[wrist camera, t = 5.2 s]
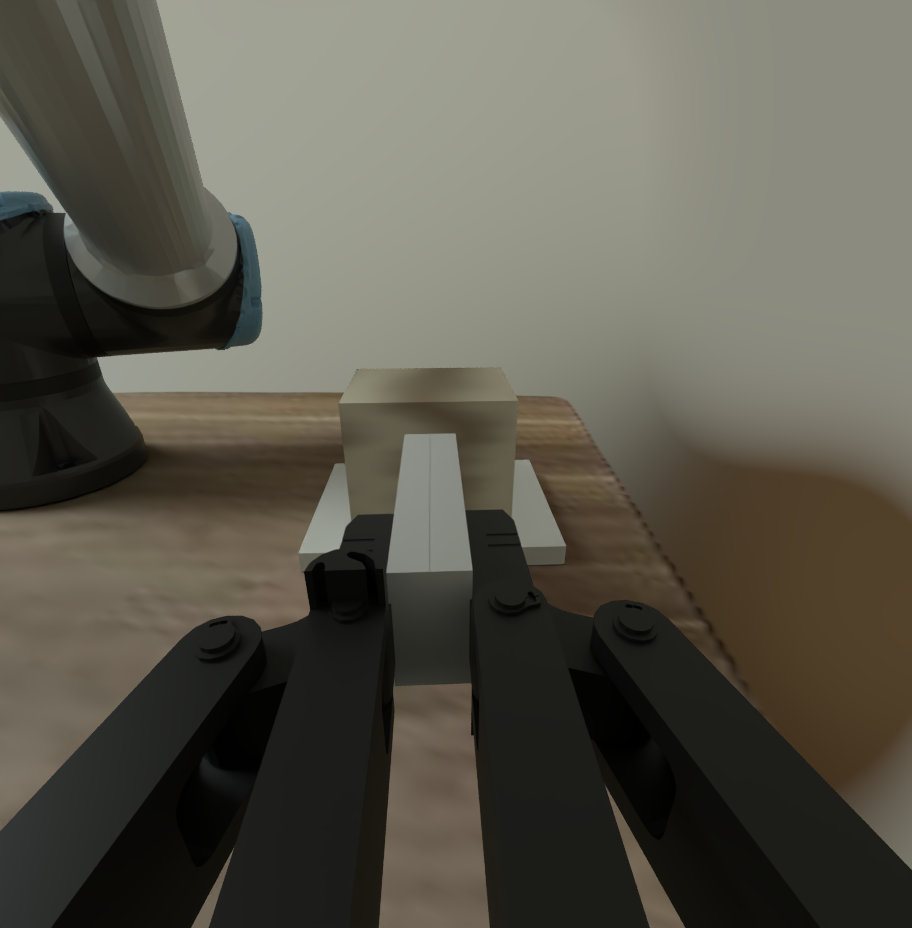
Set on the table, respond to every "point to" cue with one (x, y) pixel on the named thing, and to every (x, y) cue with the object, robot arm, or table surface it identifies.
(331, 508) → the pad
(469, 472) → the birch block
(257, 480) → the table surface
